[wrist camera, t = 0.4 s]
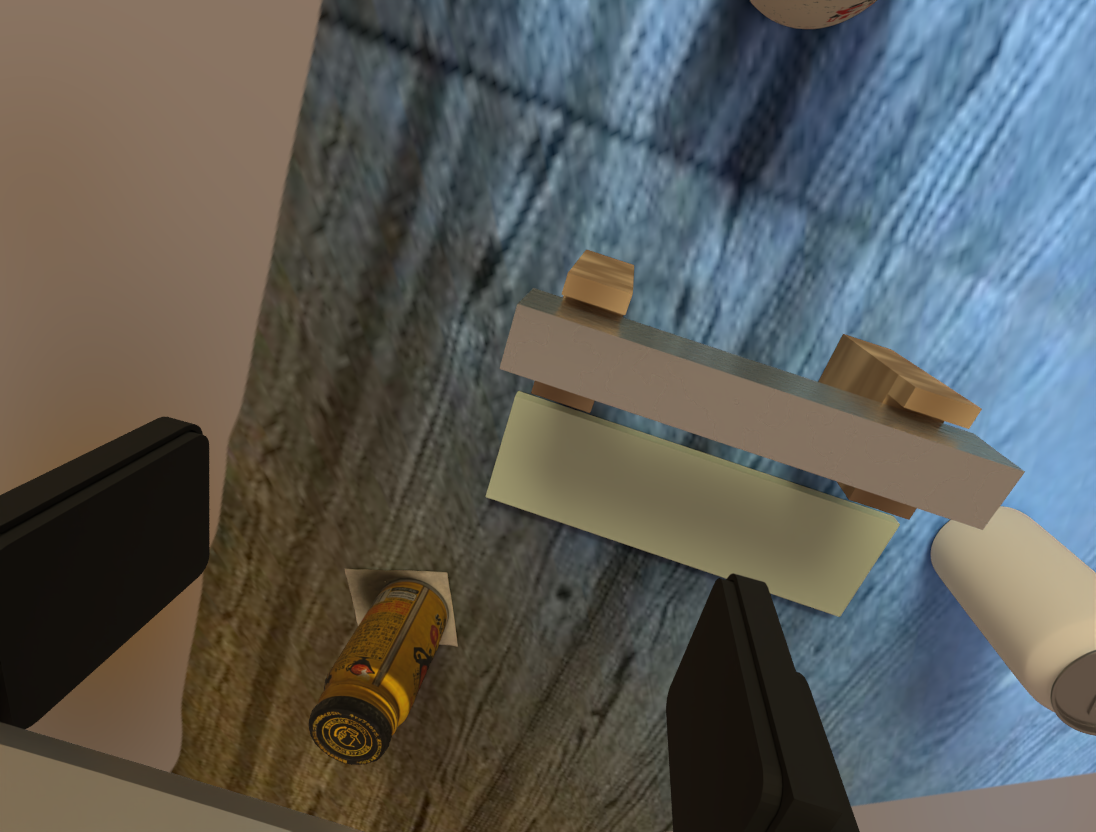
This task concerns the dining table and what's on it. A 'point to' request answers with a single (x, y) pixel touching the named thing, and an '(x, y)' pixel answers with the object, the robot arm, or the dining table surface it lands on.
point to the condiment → (382, 661)
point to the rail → (758, 408)
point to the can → (1028, 607)
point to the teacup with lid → (811, 11)
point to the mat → (686, 504)
